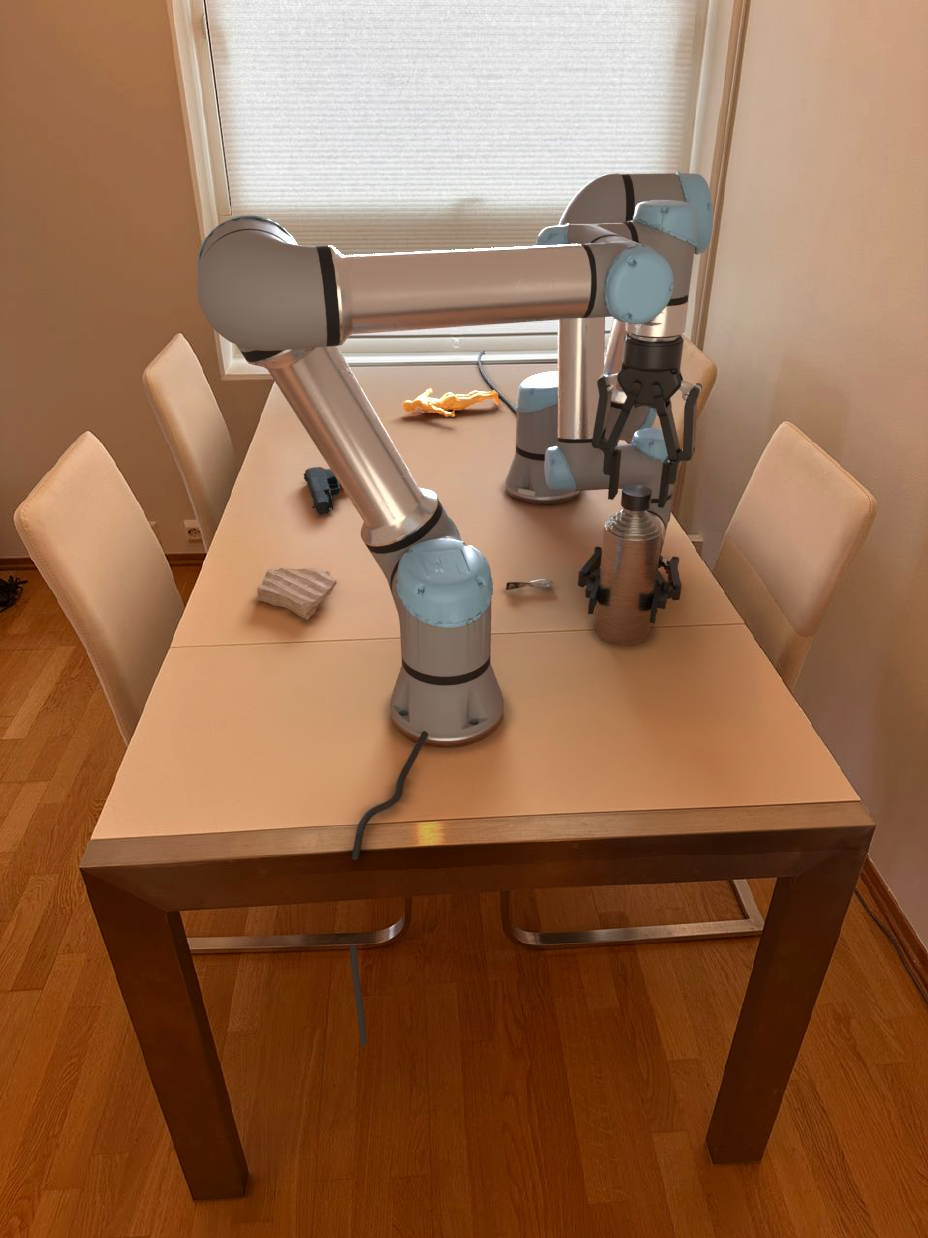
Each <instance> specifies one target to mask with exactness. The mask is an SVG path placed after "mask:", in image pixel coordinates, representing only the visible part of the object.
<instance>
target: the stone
mask: <svg viewBox="0 0 928 1238" xmlns="http://www.w3.org/2000/svg"><path fill="white" fill-rule="evenodd" d="M336 584H337V580H336V579H335V578H334V577H333V576H332V575H331V571H323V570H320V569H317V568H313V567H312V568H310V567H308V568H306V567H304V568H299V569H297V568H292V567H279V568H278V569H277V568H276V569H272V568H270V569H268V570H267V571H265V575H264V577H263V580H262V582H261V585H260V586H259V587H257V588H256V593H257V594H256V600H257V601H261V602H262V603H267V604H269V605H272V606H274V607H281V608H285V609H287V610H289V611H291V612H293V614H295V615H297V616H298V617H300V618H302V619H303V620H308V621H309V619H310V618H311V617H312V616H313V615H314V614H316V612H317V608H318V607H319V604H321V602H323V600H324V599H325V598H327V597H328V596H329V595H330V594H331V592H332V591H333V590H334V588H335V586H336Z"/></svg>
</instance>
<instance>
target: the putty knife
mask: <svg viewBox="0 0 928 1238" xmlns="http://www.w3.org/2000/svg"><path fill="white" fill-rule="evenodd" d="M553 584H554V582H553V580H552V579H550V578H542V579H541V578H540V579H536V580H531V581H529V582H526V581H525V582H524V581H507V582H506V584H505V590H506V591H510V590H516V589H521V588H526V587H532V588H549V587H552V586H553Z"/></svg>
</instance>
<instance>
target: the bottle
mask: <svg viewBox="0 0 928 1238" xmlns="http://www.w3.org/2000/svg"><path fill="white" fill-rule="evenodd" d="M662 531H663V529H662V526H661V524H660V522H659V521H658V520H657V519H656V518H655V517H653V516H652V515H651V514H650V513H648V511H646V510H645V511H630V510H627V509H625V508H623V509H621V510H619V511H617V512H615V513H614V514H613V515H610V516H609V517H608V518H607V520H606V521H605V522H604V524H603V535H602V547H601V548H602V557H601V566H600V580H599V591H598V600H597V604H596V615H595V627H594V631H595V634H596V635H597V637H598V638H599V639H601V641H604V642H606V643H608V644H611V645H613V646H618V647H619V646H620V647H632V646H637V645H640V644H642V643H644V642H646V641H647V640H648V639H649V637H650V633H651V626H652V623H649V622H650V614H651V606H652V602H653V597H654V593H655V587H656V579H657V571H658V570H659V569H658V563H659V555H660V547H661V539H662Z"/></svg>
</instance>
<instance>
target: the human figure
mask: <svg viewBox="0 0 928 1238" xmlns="http://www.w3.org/2000/svg"><path fill="white" fill-rule="evenodd" d="M424 391H425V392H423V393H422V394H420V395H418V396H416V398H415V399H414V400H404V401H403V402H402V411H404V412H405V413H410V414H412V413H414V412H417V408H418V409H420V410H421V411H423V412H424V413H427V414H439V415H443V416H444V417H449V416H450V417H451V418H452V417H453V418H454V417H455V416H456V414H455V411H462V410H464V409H467V408H469V407H471V406H473V405H476V404H478V403H481V402H484V401H488V400H493V402H494V403H495V404H496V405H497V406H500V398H499V395H498V393H497V392H496V391H495V390H494V389H492V390H491V391H478V390H473V391H470V392H469V393H468V394H460V393H457V394H455V393H453V392H446V393H444V394H443V395H442V396H441V397H440V398H434V397H429V396H430V395H432V394H433V392H434V391H433V389H432V385H429V387H428V389H424ZM450 410H452V411H450Z"/></svg>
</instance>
